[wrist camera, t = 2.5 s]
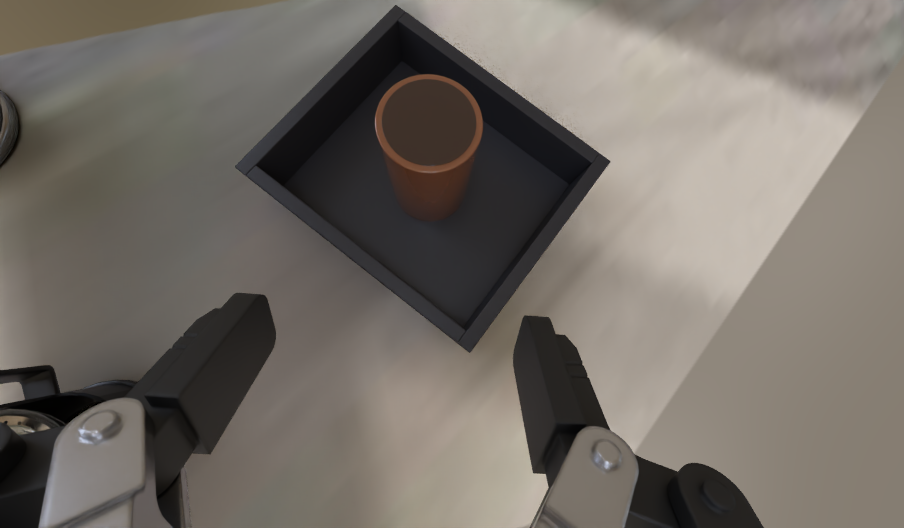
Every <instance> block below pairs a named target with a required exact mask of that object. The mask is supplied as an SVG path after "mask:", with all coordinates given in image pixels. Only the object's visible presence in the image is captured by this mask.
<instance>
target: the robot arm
mask: <svg viewBox="0 0 904 528" xmlns="http://www.w3.org/2000/svg"><path fill="white" fill-rule="evenodd" d="M17 134H18V116H17V112H16V109H15V107H14V105H13V103H12V102H11V100H10V99H9V98H8V97H7V95H5V94H4V93H3V92H2V91H1V90H0V164H1V163H2V162H3V161H4V160H5V158H6V157H7V156H8V154H9V153H10V151H11V149H12V147H13V145H14V143H15V141H16V137H17ZM275 340H276V330H275V326H274V322H273V319H272V315H271V311H270V307H269V303H268V300H267V298H266V296H265V295H261V294H248V293H235V294H234V295H233V296H232V297H231V298H230V299H229V300H228V301H227V302H226V303H225V304H224V306H223V307H222V308H221V309H218V308H215V309H213V310H212V311H210V312H209V313H207V314H205V315H204V316H202V317H200V318H199V319H197V320H196V321H195V322H194V323H193V324H192V325H191V326H190V328H189V329H188V330H187V331H186V332H185V333H184V336H183V337H180V338H179V339H178V340H177V341H176V342H175V343H174V345H173V347H172V349H169V350H168V351H167V352H166V353H165V354H164V355H163V356H162V357H161V358H160V359H159V360H158V362H157V363H156V364H155V365H154V366H153V367H152V368H151V369H150V370H149V371H148V372H147V373H146V374H145V375H144V376H143V377H142V379H141V380H140V381H139V382H138V383H137V384H136V385H135V386H134V387H133V388H132V389H131V390H130V391H129V392H128V393H127V394H126V395H125V396H124V397H123V398H117V399H113V400H109V401H106V402H103V403H100V404H98V405H96V406H94V407H92V408H90V409H88V410H86V411H84V412H83V413H81V414H80V415H78V416H77V417H76V418H74V419H73V420H72V421H71V422H70V423H68V424H67V425H66V426H61V427H56V428H51V429H46V430H42V431H37V432H32V433H27V434H22V435H18V434H17V433H16V432H15V431H13V430H12V429H11V428H10V427H9V426H8V425H6V424H5V423H2V422H0V528H192V524H191V514H190V504H189V495H188V485H187V476H186V469H185V467H184V465H185V463H186V461H187V460H188V458H189V457H190V455H191V454H192V453H196V454H211V452H212V451H213V449H214V447H215V446H216V444H217V442H218V441H219V439H220V437H221V436H222V434H223V432H224V430H225V429H226V427H227V425H228V424H229V422H230V420H231V419H232V417H233V415H234V414H235V412H236V410H237V409H238V407H239V405H240V404H241V402H242V400H243V399H244V397H245V395H246V394H247V392H248V390H249V389H250V387H251V385H252V384H253V382H254V380H255V379H256V377H257V375H258V374H259V372H260V370H261V369H262V367H263V365H264V364H265V362H266V360H267V359H268V357H269V355H270V353H271V352H272V350H273V348H274V345H275ZM513 367H514V373H515V378H516V384H517V389H518V394H519V400H520V405H521V411H522V416H523V421H524V427H525V432H526V438H527V443H528V448H529V454H530V459H531V465H532V470H533V473H539V474H546V477H547V481H548V486H549V488H548V490H547V492H546V494H545V496H544V498H543V500H542V502H541V504H540V507H539V509H538V511H537V513H536V515H535V517H534V519H533V521H532V523H531V525H530V527H529V528H764V527H763V526H762V524H761V522H760V521H759V519H758V517H757V516H756V514H755V512H754V511H753V509H752V507H751V506H750V504H749V503H748V501H747V499H746V498H745V496H744V495H743V493H742V492H741V491H740V490H739V489H738V488H737V486H736V485H735V484H734V483H733V482H731V481H730V480H729V479H728V478H727V477H726V476H724V475H723V474H721V473H720V472H718V471H717V470H715V469H713V468H711V467H709V466H706V465H703V464H699V463H690V464H686V465H684V466H683V467H682V468H681V469H680V470H679V471H678V472H677V471H674V470H672V469H669V468H666V467H664V466H661V465H658V464H656V463H653V462H650V461H648V460H645V459H643V458H641V457H639V456H637V455H635V454H634V453H633V451H632V450H631V448H630V447H629V446H628V444H627V443H626V442H625V441H624V440H623V439H622V438H620V437H619V436H618V435H616V434H615V433H614V432H612V431H611V430H610V428H609V426H608V424H607V422H606V419H605V417H604V414H603V412H602V409H601V407H600V405H599V402H598V400H597V397H596V395H595V392H594V390H593V387H592V385H591V382H590V380H589V378H587V372H586V370H585V368H584V366H583V365H582V360H581V358H580V355H579V353H578V350H577V348H576V347H575V346H574V345H573V343H572V342H571V341H570V340H569V339H568V338H567V337H566V336H565V335H558V334H555V331H554V328H553V325H552V322H551V320H550V318H549V317H539V316H524V317H523V319H522V323H521V326H520V330H519V334H518V337H517V341H516V344H515V348H514V354H513Z"/></svg>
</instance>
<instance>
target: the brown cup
mask: <svg viewBox="0 0 904 528" xmlns="http://www.w3.org/2000/svg"><path fill="white" fill-rule="evenodd" d="M375 131H376V136H377V139H378V142H379V146H380V149H381V153H382V156H383V160H384V163H385V166H386V170H387V173H388V177H389V180H390V183H391V187H392V190H393V194H394V197H395V199H396V202H397V203H398V205H399V206H400V208H401V209H402V210H403V211H404V212H405V213H406V214H408V215H409V216H411V217H413V218H415V219H418V220H421V221H429V222H431V221H439V220H442V219H445V218H447V217H449V216H451V215H452V214H454V213H455V212H456V211H457V210H458V209H459V208H460V206H461V205H462V203H463V201H464V198H465V196H466V192H467V188H468V185H469V181H470V177H471V174H472V170H473V167H474V163H475V159H476V156H477V152H478V149H479V145H480V141H481V138H482V133H483V118H482V114H481V110H480V108H479V105H478V104H477V102H476V100H475V99H474V97H473V96H472V94H471V93H470V92H469V91H468V90H467V89H466V88H464V87H463V86H462V85H461V84H459V83H457V82H456V81H454V80H452V79H449V78H447V77H444V76H439V75H432V74H422V75H415V76H411V77H408V78H406V79H403V80H401V81H400V82H398V83H396V84H395V85H393V86H392V87H391V88H390V89H389V90H388V91H387V92H386V93H385V94H384V96H383V97H382V99H381V101H380V102H379V105H378V107H377V110H376V114H375Z"/></svg>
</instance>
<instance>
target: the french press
mask: <svg viewBox="0 0 904 528" xmlns="http://www.w3.org/2000/svg"><path fill="white" fill-rule="evenodd" d="M10 382H20V384H21V385H22V389H23V392H24V396H25V400H23V401H18V402H13V403H8V404H2V405H0V422H2V423H5V424H6V425H8V426H9V427H10V428H11V429H12V430H13V431H15V432H16V433H17V434H18V435H22V434H27V433H32V432H37V431H42V430H46V429H51V428H56V427H61V426H66V424H67V422H68V421H69V420H70V419H71V418H72V417H73V416H74V415H75V414H77V413H78V412H79V411H80V410H82V409H83V408H85V407H87V406H89V405H91V404H93V403H96V402H99V401H101V402H106V401H109V400H113V399H117V398H123V397H124V396H125V395H126V394H127V393H128V392H129V391H130V390H131V389H132V388H133V387H134V386H135V385H136V384H137V383H138V382H135V381H130V380H112V381H105V382H99V383H96V384H93V385H90V386H87V387H85V388H83V389H80V390H75V391H69V392H64V393H61V392H60V388H59V385H58V381H57V377H56V374H55V371H54V368H53V367H52V366H50V365H45V366H35V367H26V368H18V369H9V370H0V384H3V383H10Z"/></svg>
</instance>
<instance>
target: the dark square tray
mask: <svg viewBox="0 0 904 528" xmlns="http://www.w3.org/2000/svg"><path fill="white" fill-rule="evenodd" d="M422 74H432V75H439V76H444V77H447V78H449V79H452V80H454V81H456V82H457V83H459V84H461V85H462V86H463V87H464V88H466V89H467V90H468V91H469V92H470V93H471V94H472V96H473V97H474V99H475V100H476V102H477V104H478V105H479V108H480V110H481V114H482V118H483V133H482V138H481V141H480V145H479V149H478V152H477V156H476V159H475V163H474V167H473V170H472V174H471V177H470V181H469V185H468V188H467V192H466V196H465V198H464V201H463V203H462V205H461V206H460V208H459V209H458V210H457V211H456V212H455V213H454V214H452V215H451V216H449V217H447V218H445V219H442V220H439V221H431V222H429V221H421V220H418V219H415V218H413V217H411V216H409V215H408V214H406V213H405V212H404V211H403V210H402V209H401V208H400V206H399V205H398V203H397V202H396V199H395V197H394V194H393V190H392V187H391V183H390V180H389V177H388V173H387V170H386V166H385V163H384V160H383V156H382V153H381V149H380V146H379V142H378V139H377V136H376V131H375V114H376V110H377V107H378V105H379V102H380V101H381V99H382V97H383V96H384V94H385V93H386V92H387V91H388V90H389V89H390V88H391V87H392V86H393V85H395V84H396V83H398V82H400V81H401V80H403V79H406V78H408V77H411V76H415V75H422ZM609 163H610V161H609V160H608V159H607V158H605V157H604V156H602V155H601V154H599V153H598V152H597V151H596V150H594V149H593V148H592V147H590V146H589V145H587V144H586V143H585V142H583V141H582V140H581V139H579V138H578V137H576V136H575V135H574V134H572V133H571V132H570V131H568V130H567V129H566V128H564V127H563V126H561V125H560V124H559V123H557V122H556V121H555V120H553V119H552V118H550V117H549V116H548V115H546V114H545V113H544V112H542V111H541V110H540V109H538V108H537V107H535V106H534V105H533V104H531V103H530V102H529V101H527V100H526V99H524V98H523V97H522V96H520V95H519V94H518V93H516V92H515V91H514V90H512V89H511V88H509V87H508V86H507V85H505V84H504V83H503V82H501V81H500V80H498V79H497V78H496V77H494V76H493V75H492V74H490V73H489V72H487V71H486V70H485V69H483V68H482V67H481V66H479V65H478V64H477V63H475V62H474V61H472V60H471V59H470V58H468V57H467V56H466V55H464V54H463V53H461V52H460V51H459V50H457V49H456V48H455V47H453V46H452V45H451V44H449V43H448V42H446V41H445V40H444V39H442V38H441V37H440V36H438V35H437V34H435V33H434V32H433V31H431V30H430V29H429V28H427V27H426V26H425V25H423V24H422V23H420V22H419V21H418V20H416V19H415V18H414V17H412V16H411V15H409V14H408V13H407V12H405V11H404V10H402V9H401V8H400V7H398V6H397V5H395V6H394V7H393V8H392V9H391V10H390V11H389V12H388V13H387V14H386V15H385V16H384V17H383V18H382V19H381V20H380V21H379V22H378V23H377V24H376V25H375V26H374V27H373V28H372V29H371V30H370V31H369V32H368V33H367V34H366V35H365V36H364V37H363V38H362V39H361V40H360V41H359V42H358V43H357V44H356V45H355V46H354V47H353V48H352V49H351V50H350V51H349V52H348V53H347V54H346V55H345V56H344V57H343V58H342V59H341V60H340V61H339V62H338V63H337V64H336V65H335V66H334V67H333V68H332V69H331V70H330V71H329V72H328V73H327V74H326V75H325V76H324V77H323V78H322V79H321V80H320V81H319V82H318V84H317V85H316V86H315V87H314V88H313V89H312V90H311V91H310V92H309V93H308V94H307V95H306V96H305V97H304V98H303V99H302V100H301V101H300V102H299V103H298V104H297V105H296V106H295V107H294V108H293V109H292V110H291V111H290V112H289V113H288V114H287V115H286V116H285V117H284V118H283V119H282V120H281V121H280V122H279V123H278V124H277V125H276V126H275V127H274V128H273V129H272V130H271V131H270V132H269V133H268V134H267V135H266V136H265V137H264V138H263V139H262V140H261V141H260V142H259V143H258V144H257V145H256V146H255V147H254V148H253V149H252V150H251V151H250V152H249V153H248V154H247V155H246V156H245V157H244V158H243V159H242V160H241V161H240V162H239V163H238V164H237V165H236V166H235V168H236V169H238V170H239V171H240V172H242V173H243V174H244V175H245V176H247V177H248V178H249V179H250V180H252V181H253V182H254V183H255V184H257V185H258V186H259V187H260V188H262V189H263V190H264V191H266V192H267V193H268V194H269V195H271V196H272V197H273V198H274V199H276V200H277V201H278V202H279V203H281V204H282V205H283V206H285V207H286V208H287V209H288V210H290V211H291V212H292V213H293V214H295V215H296V216H297V217H298V218H300V219H301V220H302V221H304V222H305V223H306V224H307V225H309V226H310V227H311V228H312V229H314V230H315V231H316V232H317V233H319V234H320V235H321V236H322V237H324V238H325V239H326V240H328V241H329V242H330V243H331V244H333V245H334V246H335V247H336V248H338V249H339V250H340V251H341V252H343V253H344V254H345V255H347V256H348V257H349V258H350V259H352V260H353V261H354V262H355V263H357V264H358V265H359V266H360V267H362V268H363V269H364V270H366V271H367V272H368V273H369V274H371V275H372V276H373V277H374V278H376V279H377V280H378V281H379V282H381V283H382V284H383V285H384V286H386V287H387V288H388V289H390V290H391V291H392V292H393V293H395V294H396V295H397V296H398V297H400V298H401V299H402V300H403V301H405V302H406V303H407V304H409V305H410V306H411V307H412V308H414V309H415V310H416V311H417V312H419V313H420V314H421V315H422V316H424V317H425V318H426V319H428V320H429V321H430V322H431V323H433V324H434V325H435V326H436V327H438V328H439V329H440V330H441V331H443V332H444V333H445V334H446V335H448V336H449V337H450V338H452V339H453V340H454V341H455V342H457V343H458V344H459V345H460V346H462V347H463V348H464V349H465V350H467V351H468V352H469V353H470V352H471V351H472V349H473V348H474V347H475V345H476V344H477V342H478V341H479V340H480V338H481V337H482V336H483V334H484V333H485V332H486V330H487V329H488V327H489V326H490V325H491V323H492V322H493V321H494V319H495V318H496V317H497V315H498V314H499V313H500V311H501V310H502V308H503V307H504V306H505V304H506V303H507V302H508V300H509V299H510V298H511V296H512V295H513V293H514V292H515V291H516V289H517V288H518V287H519V285H520V284H521V283H522V281H523V280H524V279H525V277H526V276H527V274H528V273H529V272H530V270H531V269H532V268H533V266H534V265H535V264H536V262H537V261H538V260H539V258H540V257H541V255H542V254H543V253H544V251H545V250H546V249H547V247H548V246H549V245H550V243H551V242H552V240H553V239H554V238H555V236H556V235H557V234H558V232H559V231H560V230H561V228H562V227H563V226H564V224H565V223H566V221H567V220H568V219H569V217H570V216H571V215H572V213H573V212H574V211H575V209H576V208H577V206H578V205H579V204H580V202H581V201H582V200H583V198H584V197H585V196H586V194H587V193H588V192H589V190H590V189H591V187H592V186H593V185H594V183H595V182H596V181H597V179H598V178H599V177H600V175H601V174H602V172H603V171H604V170H605V168H606V167H607V166H608V164H609Z"/></svg>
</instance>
